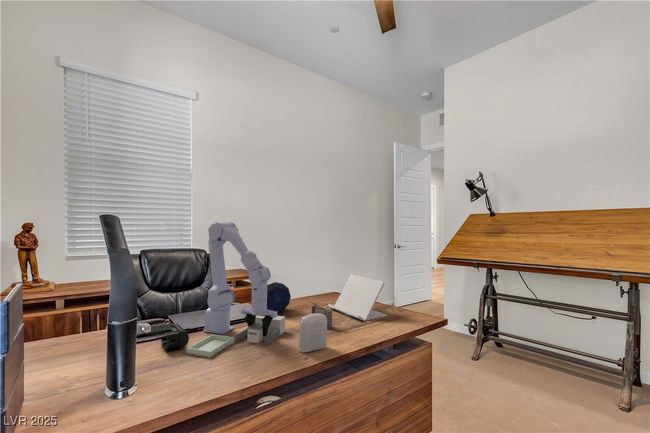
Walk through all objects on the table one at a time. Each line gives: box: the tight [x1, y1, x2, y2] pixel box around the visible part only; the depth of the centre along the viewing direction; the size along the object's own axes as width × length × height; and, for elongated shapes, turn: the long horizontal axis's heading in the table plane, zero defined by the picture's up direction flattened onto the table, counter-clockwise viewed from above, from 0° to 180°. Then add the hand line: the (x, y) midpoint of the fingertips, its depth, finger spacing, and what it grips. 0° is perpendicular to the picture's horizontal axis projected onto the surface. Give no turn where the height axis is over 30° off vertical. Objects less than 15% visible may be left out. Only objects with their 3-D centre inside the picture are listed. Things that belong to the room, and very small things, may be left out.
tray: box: [185, 333, 235, 359], centre depth 115 cm, size 10×14×2 cm
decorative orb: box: [267, 281, 292, 313], centre depth 163 cm, size 14×15×15 cm
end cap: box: [160, 324, 190, 354], centre depth 116 cm, size 10×7×7 cm
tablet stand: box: [327, 273, 388, 322], centre depth 163 cm, size 18×25×17 cm
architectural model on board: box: [311, 301, 333, 330], centre depth 142 cm, size 11×3×10 cm, turn 38°
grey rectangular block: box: [247, 320, 270, 344], centre depth 125 cm, size 5×10×6 cm, turn 163°
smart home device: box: [137, 322, 176, 337], centre depth 132 cm, size 8×2×20 cm
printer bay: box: [235, 315, 286, 347], centre depth 128 cm, size 13×16×6 cm
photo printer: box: [298, 313, 328, 353], centre depth 116 cm, size 10×4×12 cm, turn 123°
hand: (258, 334), depth 125 cm, fingers open, 5 cm apart
